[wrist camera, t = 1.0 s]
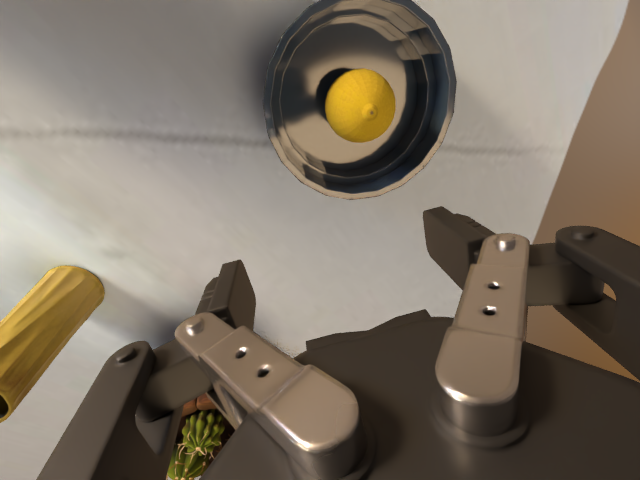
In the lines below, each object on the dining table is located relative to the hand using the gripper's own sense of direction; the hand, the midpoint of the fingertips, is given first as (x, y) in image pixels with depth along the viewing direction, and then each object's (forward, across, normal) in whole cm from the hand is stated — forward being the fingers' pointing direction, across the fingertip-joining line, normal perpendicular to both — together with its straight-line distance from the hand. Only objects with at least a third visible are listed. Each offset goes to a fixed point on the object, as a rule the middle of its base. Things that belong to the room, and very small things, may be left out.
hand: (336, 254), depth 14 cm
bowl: (+20, -6, -5) cm, 21 cm away
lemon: (+20, -6, -5) cm, 21 cm away
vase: (+22, +28, +7) cm, 36 cm away
